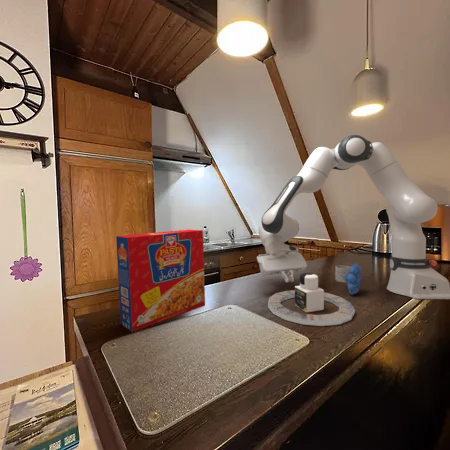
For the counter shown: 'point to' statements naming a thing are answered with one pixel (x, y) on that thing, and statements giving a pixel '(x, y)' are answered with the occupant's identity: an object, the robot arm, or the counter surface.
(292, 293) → the turntable ring
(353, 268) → the grapes
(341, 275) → the mug
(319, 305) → the medicine bottle
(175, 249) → the pasta box
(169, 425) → the counter surface
